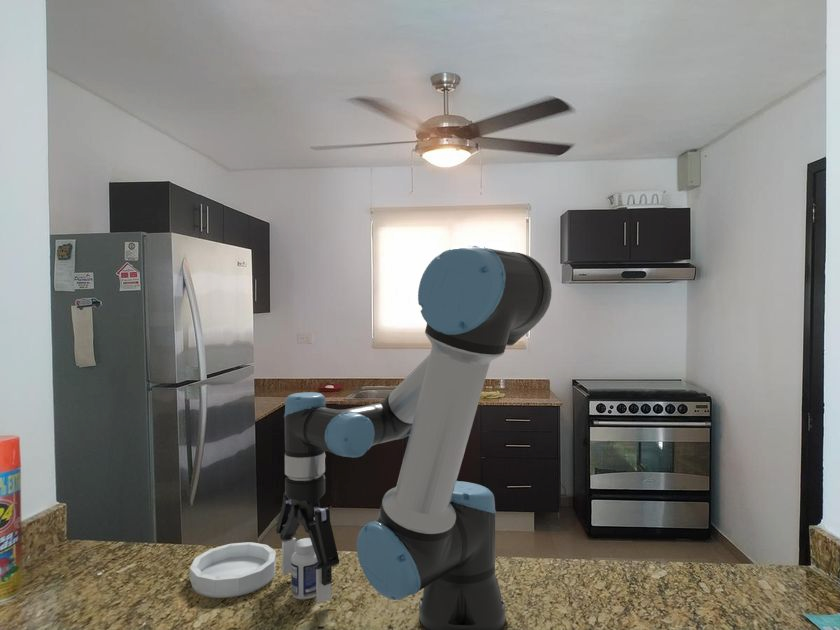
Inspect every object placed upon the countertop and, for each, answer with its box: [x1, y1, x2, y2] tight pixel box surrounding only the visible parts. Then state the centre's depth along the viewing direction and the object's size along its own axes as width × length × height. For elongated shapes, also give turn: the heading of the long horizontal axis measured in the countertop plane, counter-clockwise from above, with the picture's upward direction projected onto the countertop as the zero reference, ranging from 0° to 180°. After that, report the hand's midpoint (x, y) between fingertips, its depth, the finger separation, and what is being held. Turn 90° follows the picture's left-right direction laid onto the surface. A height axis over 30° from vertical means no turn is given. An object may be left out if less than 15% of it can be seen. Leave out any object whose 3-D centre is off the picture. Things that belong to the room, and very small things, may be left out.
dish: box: [189, 541, 277, 599], centre depth 109 cm, size 16×16×4 cm
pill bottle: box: [290, 537, 319, 600], centre depth 103 cm, size 5×5×10 cm
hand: (305, 585), depth 103 cm, fingers open, 13 cm apart
